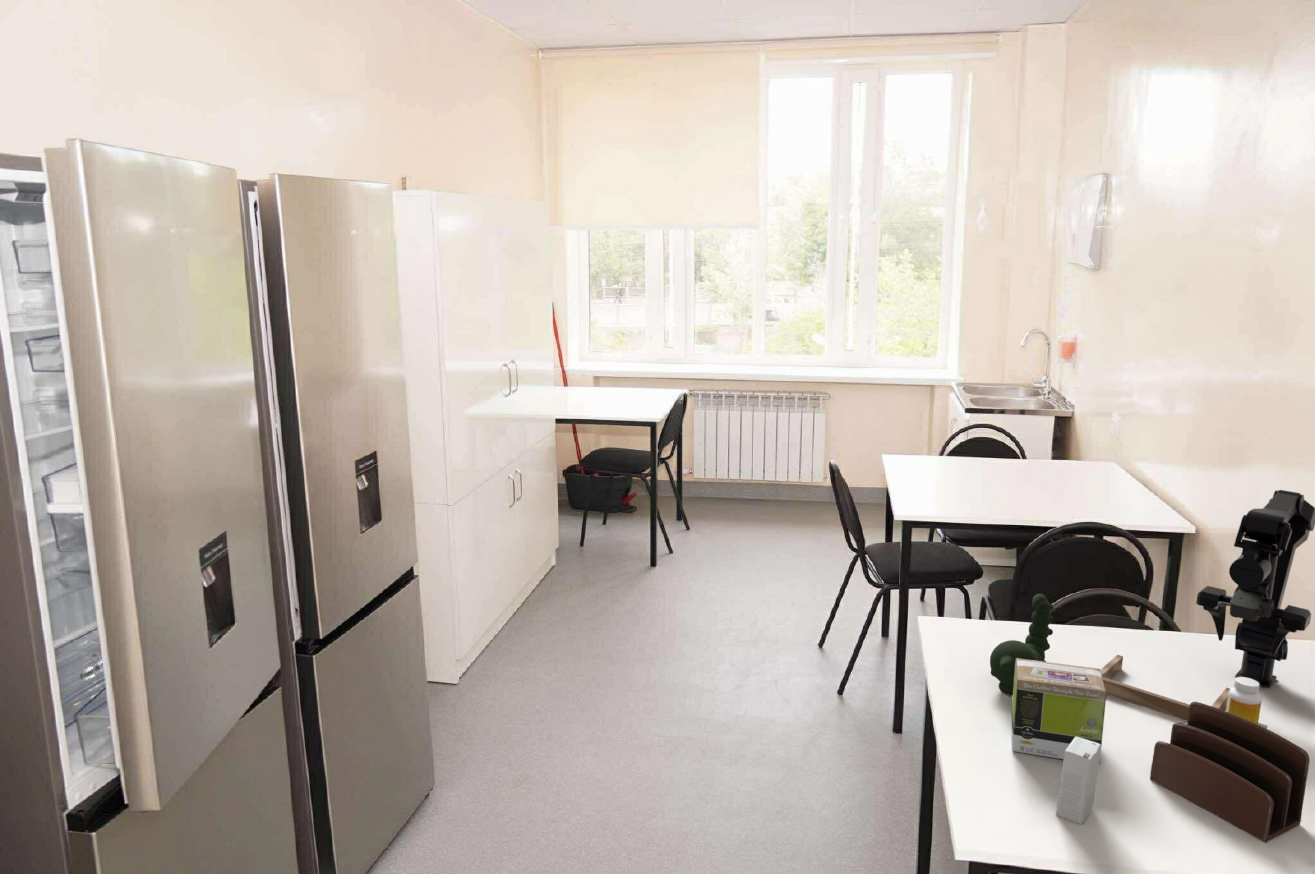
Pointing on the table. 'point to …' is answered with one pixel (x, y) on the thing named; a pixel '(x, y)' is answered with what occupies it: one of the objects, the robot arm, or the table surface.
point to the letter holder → (1234, 771)
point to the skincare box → (1078, 779)
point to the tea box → (1055, 707)
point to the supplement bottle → (1245, 699)
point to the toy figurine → (1023, 646)
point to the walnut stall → (1149, 694)
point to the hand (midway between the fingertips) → (1246, 646)
